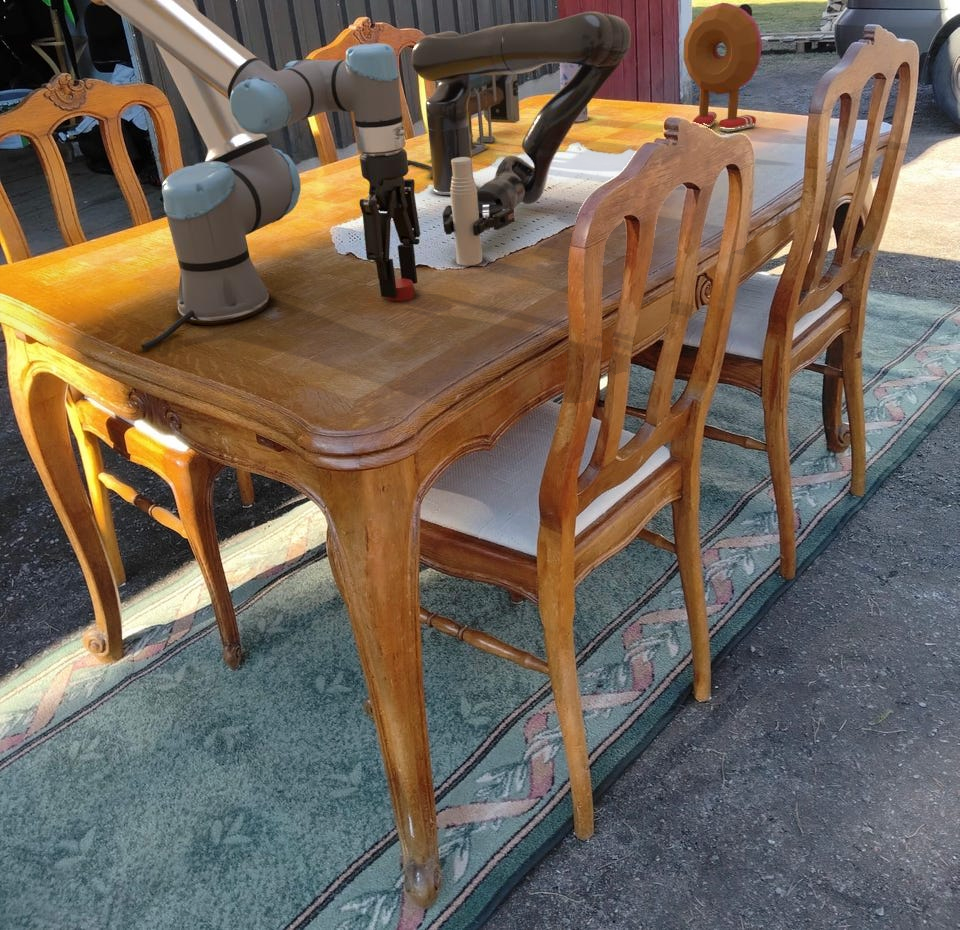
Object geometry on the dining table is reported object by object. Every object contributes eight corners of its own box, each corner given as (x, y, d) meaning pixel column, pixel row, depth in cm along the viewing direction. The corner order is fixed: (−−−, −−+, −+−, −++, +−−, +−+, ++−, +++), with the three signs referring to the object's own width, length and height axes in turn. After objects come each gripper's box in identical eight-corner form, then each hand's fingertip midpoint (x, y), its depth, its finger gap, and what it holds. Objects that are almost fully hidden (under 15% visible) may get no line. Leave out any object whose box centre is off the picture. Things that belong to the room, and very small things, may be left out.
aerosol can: (559, 122, 275) (557, 47, 265) (562, 117, 282) (559, 42, 272) (587, 121, 274) (585, 45, 263) (589, 115, 280) (587, 41, 270)
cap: (396, 303, 162) (394, 290, 161) (382, 296, 166) (380, 283, 165) (419, 296, 164) (418, 283, 163) (405, 289, 168) (404, 276, 167)
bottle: (467, 255, 181) (459, 154, 172) (487, 259, 178) (480, 157, 169) (451, 263, 178) (441, 161, 169) (471, 267, 175) (462, 163, 166)
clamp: (458, 163, 243) (450, 72, 232) (428, 161, 247) (419, 72, 236) (520, 131, 269) (515, 49, 258) (492, 130, 273) (487, 49, 262)
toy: (766, 126, 252) (776, -1, 237) (746, 134, 246) (755, 5, 231) (696, 119, 265) (700, -1, 250) (675, 127, 259) (678, 4, 244)
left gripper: (370, 167, 144) (389, 312, 156) (432, 137, 158) (445, 272, 170) (329, 165, 147) (350, 307, 159) (393, 136, 162) (408, 268, 173)
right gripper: (457, 182, 187) (422, 207, 173) (527, 183, 182) (497, 210, 168) (460, 220, 190) (426, 248, 177) (529, 223, 185) (500, 251, 172)
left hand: (399, 289), depth 165 cm, fingers open, 6 cm apart
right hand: (461, 229), depth 173 cm, fingers closed on bottle, 4 cm apart
